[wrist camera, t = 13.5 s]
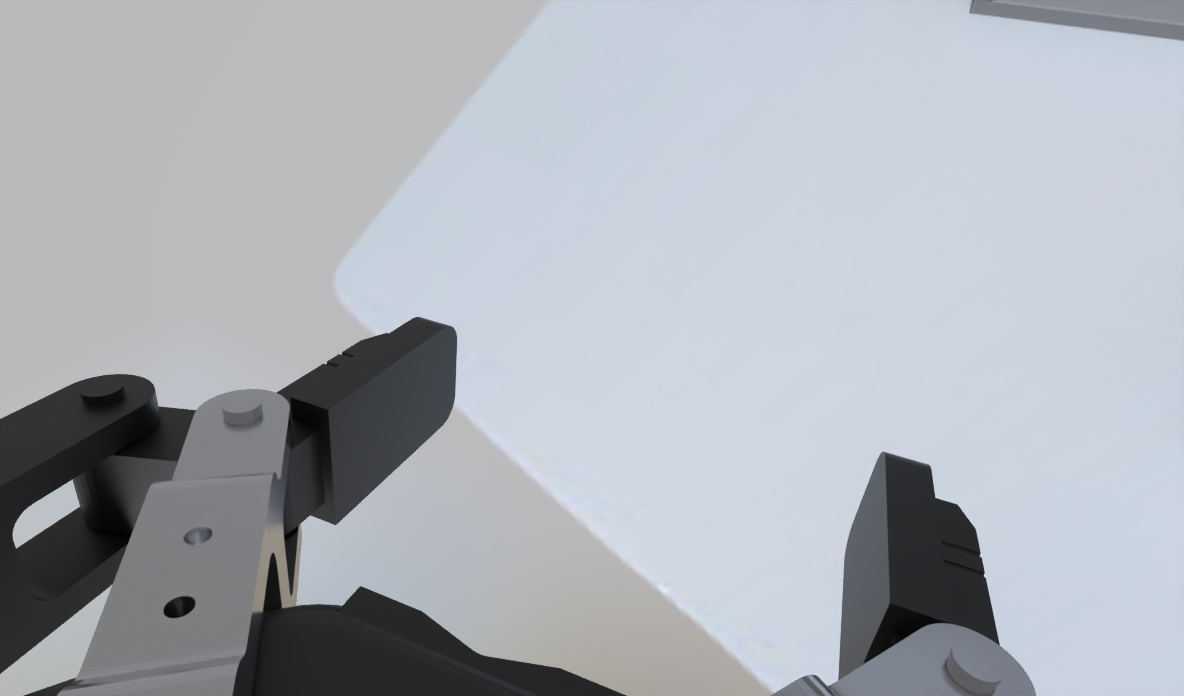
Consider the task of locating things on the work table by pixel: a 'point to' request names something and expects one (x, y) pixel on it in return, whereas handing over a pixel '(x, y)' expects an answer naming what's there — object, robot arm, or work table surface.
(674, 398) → the work table surface
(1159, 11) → the tray
